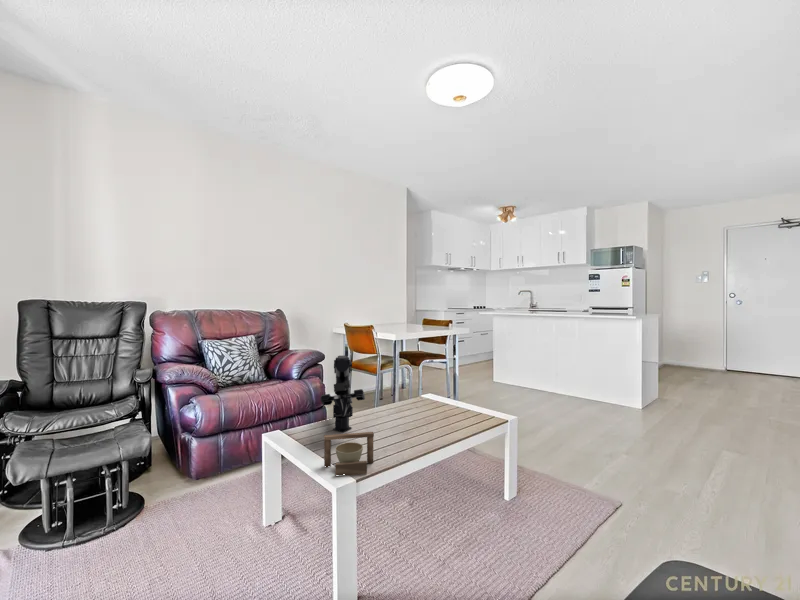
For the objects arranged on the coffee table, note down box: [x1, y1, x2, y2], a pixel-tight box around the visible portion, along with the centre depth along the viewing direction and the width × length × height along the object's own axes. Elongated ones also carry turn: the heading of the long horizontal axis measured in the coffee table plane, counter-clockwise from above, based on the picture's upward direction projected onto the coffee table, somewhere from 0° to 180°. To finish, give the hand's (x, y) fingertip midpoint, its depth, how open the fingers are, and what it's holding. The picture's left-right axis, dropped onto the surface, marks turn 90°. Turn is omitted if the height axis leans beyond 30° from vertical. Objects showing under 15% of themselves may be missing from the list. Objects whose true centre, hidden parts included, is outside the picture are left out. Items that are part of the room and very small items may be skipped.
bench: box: [323, 431, 375, 476], centre depth 142 cm, size 10×18×11 cm, turn 102°
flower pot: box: [335, 441, 364, 463], centre depth 144 cm, size 10×10×7 cm
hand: (343, 416), depth 165 cm, fingers closed
